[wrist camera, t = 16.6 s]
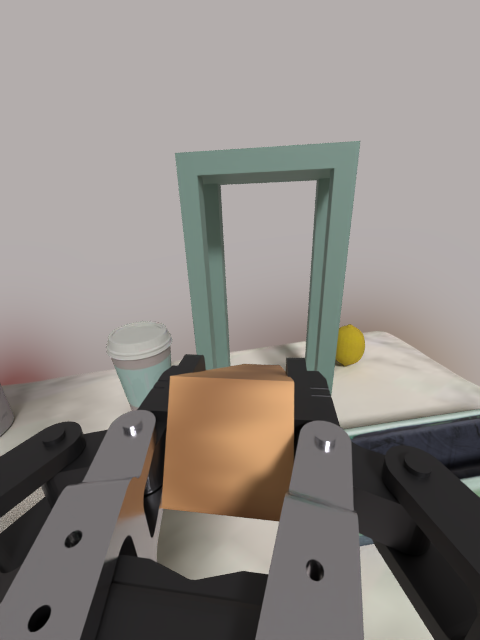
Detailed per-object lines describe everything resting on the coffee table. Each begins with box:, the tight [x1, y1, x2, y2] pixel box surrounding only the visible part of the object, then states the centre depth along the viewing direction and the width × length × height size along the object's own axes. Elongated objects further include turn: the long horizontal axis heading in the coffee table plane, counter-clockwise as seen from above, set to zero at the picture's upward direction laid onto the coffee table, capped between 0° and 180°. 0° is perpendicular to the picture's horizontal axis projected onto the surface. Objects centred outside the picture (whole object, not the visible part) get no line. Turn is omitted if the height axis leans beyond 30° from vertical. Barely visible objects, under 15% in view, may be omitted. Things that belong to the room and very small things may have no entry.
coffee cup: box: [106, 321, 172, 411], centre depth 39 cm, size 8×9×12 cm
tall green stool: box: [175, 141, 360, 394], centre depth 37 cm, size 17×12×32 cm
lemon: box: [335, 324, 365, 366], centre depth 48 cm, size 6×6×8 cm
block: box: [161, 364, 294, 521], centre depth 17 cm, size 4×20×4 cm
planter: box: [344, 409, 480, 546], centre depth 26 cm, size 28×7×7 cm, turn 99°
